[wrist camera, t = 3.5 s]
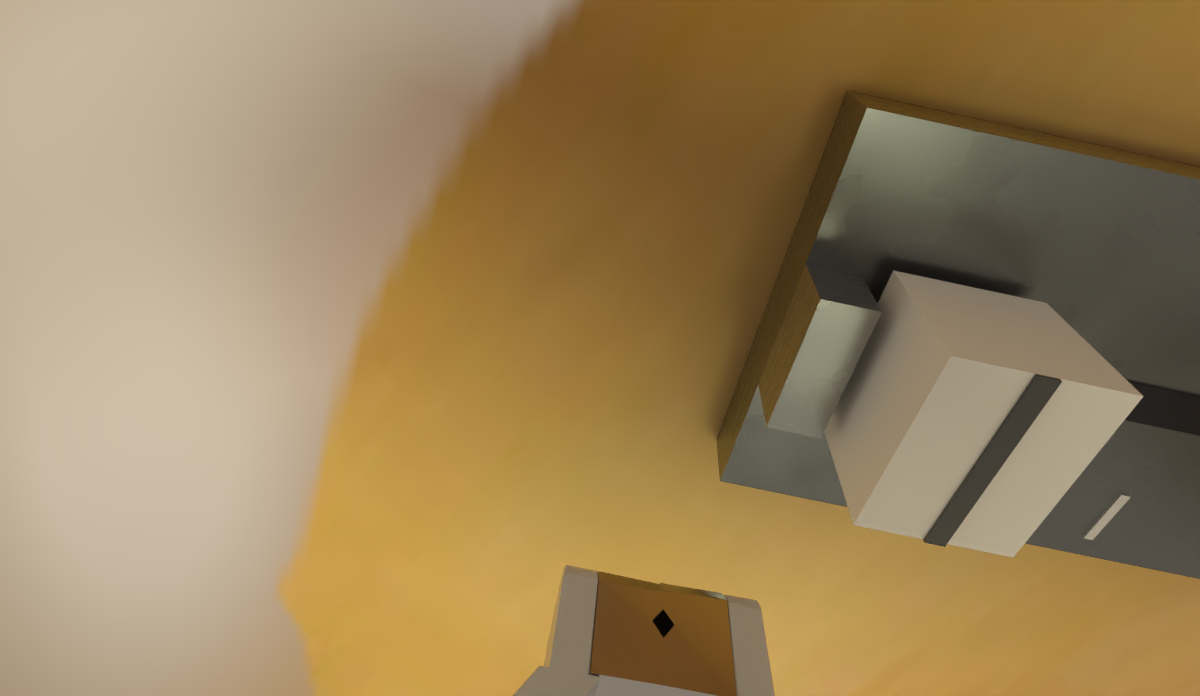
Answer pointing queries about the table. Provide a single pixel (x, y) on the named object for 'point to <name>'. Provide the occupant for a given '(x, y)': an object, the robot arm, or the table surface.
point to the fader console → (1000, 264)
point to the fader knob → (970, 415)
